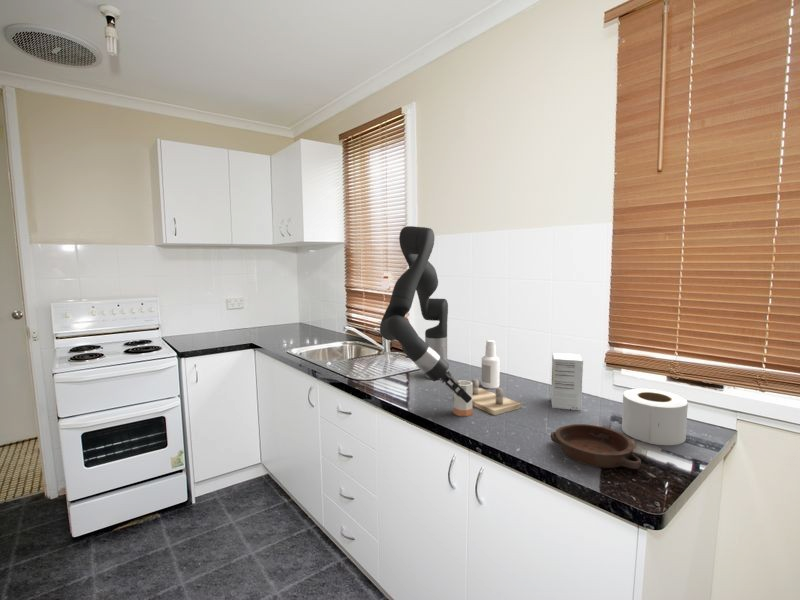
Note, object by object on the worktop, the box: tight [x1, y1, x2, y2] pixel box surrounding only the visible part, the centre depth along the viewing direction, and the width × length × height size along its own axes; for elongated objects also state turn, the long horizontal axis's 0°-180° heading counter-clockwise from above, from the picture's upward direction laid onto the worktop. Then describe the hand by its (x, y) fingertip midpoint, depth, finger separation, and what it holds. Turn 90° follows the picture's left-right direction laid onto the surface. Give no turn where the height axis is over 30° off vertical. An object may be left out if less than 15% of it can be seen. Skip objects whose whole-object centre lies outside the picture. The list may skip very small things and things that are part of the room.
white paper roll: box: [621, 388, 689, 446], centre depth 117 cm, size 16×15×11 cm
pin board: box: [471, 378, 522, 416], centre depth 143 cm, size 20×12×6 cm, turn 31°
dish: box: [550, 423, 642, 470], centre depth 105 cm, size 18×22×5 cm
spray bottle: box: [480, 339, 501, 390], centre depth 161 cm, size 7×7×18 cm
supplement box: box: [550, 352, 584, 411], centre depth 140 cm, size 10×9×17 cm
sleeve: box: [453, 379, 474, 417], centre depth 134 cm, size 6×6×10 cm
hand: (465, 396), depth 134 cm, fingers open, 8 cm apart
